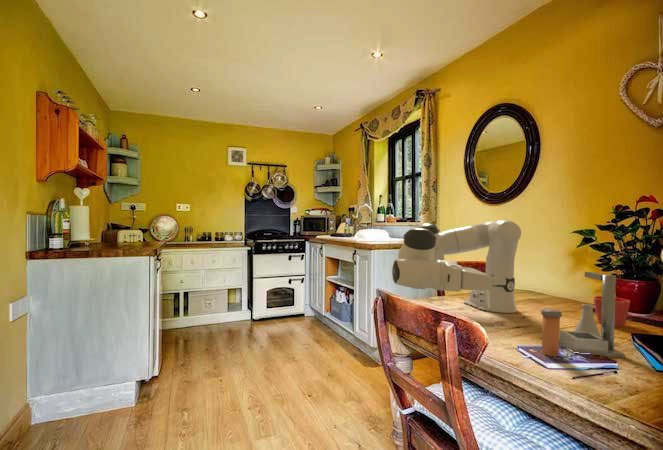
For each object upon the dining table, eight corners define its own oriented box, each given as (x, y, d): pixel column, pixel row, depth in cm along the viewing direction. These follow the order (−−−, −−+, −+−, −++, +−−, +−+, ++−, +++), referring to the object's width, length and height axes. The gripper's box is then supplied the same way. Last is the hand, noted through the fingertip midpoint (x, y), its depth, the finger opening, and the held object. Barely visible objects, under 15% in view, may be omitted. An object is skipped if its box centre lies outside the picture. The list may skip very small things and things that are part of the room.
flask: (605, 339, 110) (606, 308, 110) (580, 337, 112) (581, 306, 112) (593, 332, 117) (594, 303, 117) (569, 330, 119) (570, 302, 119)
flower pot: (586, 319, 135) (587, 294, 136) (618, 321, 133) (619, 296, 133) (602, 326, 125) (603, 300, 125) (636, 329, 123) (637, 302, 123)
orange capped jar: (536, 352, 96) (537, 309, 96) (547, 350, 98) (548, 308, 98) (552, 358, 91) (554, 313, 92) (564, 356, 93) (565, 312, 93)
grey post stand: (573, 354, 96) (576, 276, 96) (547, 337, 110) (549, 269, 111) (625, 357, 94) (627, 278, 94) (591, 340, 109) (593, 271, 109)
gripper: (442, 281, 109) (488, 284, 107) (455, 292, 89) (511, 297, 87) (443, 261, 109) (489, 264, 107) (456, 268, 89) (512, 272, 87)
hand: (499, 279), depth 97 cm, fingers open, 8 cm apart
